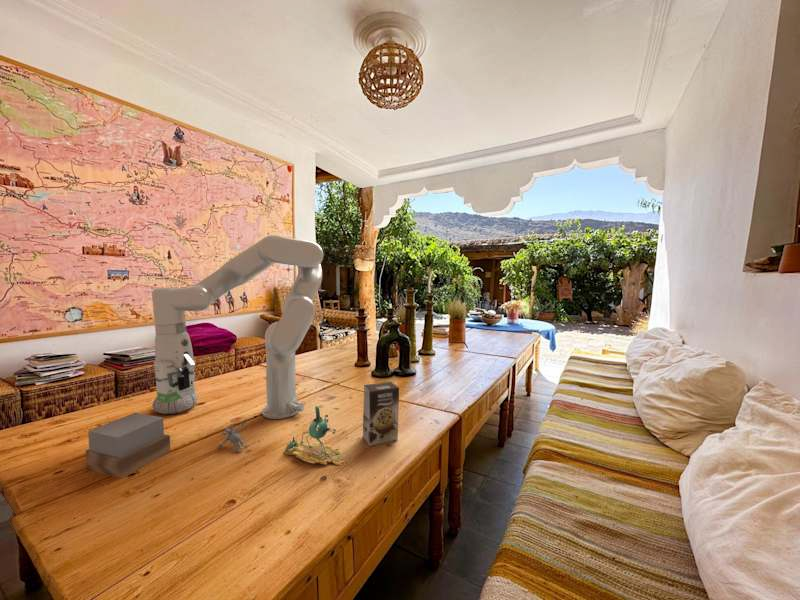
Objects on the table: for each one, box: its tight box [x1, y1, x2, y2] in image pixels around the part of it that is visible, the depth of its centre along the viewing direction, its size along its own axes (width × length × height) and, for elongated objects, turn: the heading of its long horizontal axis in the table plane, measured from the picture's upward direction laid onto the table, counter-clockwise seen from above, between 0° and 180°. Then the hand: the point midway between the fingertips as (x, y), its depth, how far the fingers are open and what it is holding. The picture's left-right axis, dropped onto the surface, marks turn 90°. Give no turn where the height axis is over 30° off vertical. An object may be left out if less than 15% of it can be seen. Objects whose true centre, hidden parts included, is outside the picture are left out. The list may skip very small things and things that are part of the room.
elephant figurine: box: [217, 421, 247, 453], centre depth 92 cm, size 9×5×8 cm
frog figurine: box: [283, 405, 345, 466], centre depth 88 cm, size 10×18×15 cm, turn 66°
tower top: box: [87, 412, 165, 458], centre depth 84 cm, size 10×11×5 cm
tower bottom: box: [85, 433, 171, 479], centre depth 85 cm, size 12×12×5 cm
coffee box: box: [362, 381, 400, 447], centre depth 98 cm, size 9×6×16 cm
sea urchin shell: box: [151, 392, 199, 415], centre depth 116 cm, size 13×14×8 cm
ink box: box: [154, 361, 196, 403], centre depth 99 cm, size 9×5×12 cm, turn 151°
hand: (176, 387), depth 100 cm, fingers closed on ink box, 5 cm apart
